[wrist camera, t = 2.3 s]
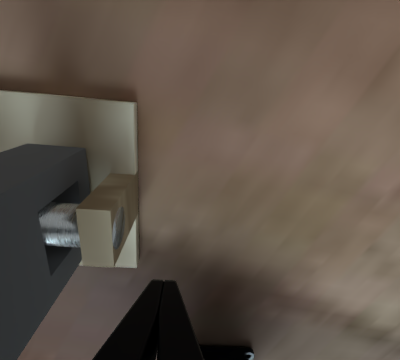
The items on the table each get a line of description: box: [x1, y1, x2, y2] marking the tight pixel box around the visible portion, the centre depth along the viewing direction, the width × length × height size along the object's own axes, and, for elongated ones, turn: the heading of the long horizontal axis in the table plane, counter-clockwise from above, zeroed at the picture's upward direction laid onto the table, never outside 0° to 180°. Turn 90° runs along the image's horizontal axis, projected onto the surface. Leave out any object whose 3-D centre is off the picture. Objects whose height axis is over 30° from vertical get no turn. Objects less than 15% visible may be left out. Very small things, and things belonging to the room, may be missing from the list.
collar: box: [0, 143, 90, 360], centre depth 10 cm, size 3×6×7 cm, turn 175°
